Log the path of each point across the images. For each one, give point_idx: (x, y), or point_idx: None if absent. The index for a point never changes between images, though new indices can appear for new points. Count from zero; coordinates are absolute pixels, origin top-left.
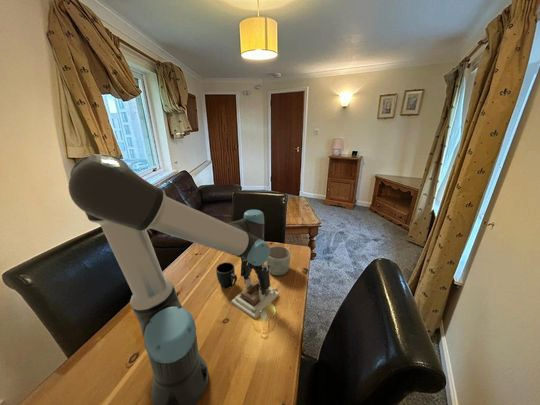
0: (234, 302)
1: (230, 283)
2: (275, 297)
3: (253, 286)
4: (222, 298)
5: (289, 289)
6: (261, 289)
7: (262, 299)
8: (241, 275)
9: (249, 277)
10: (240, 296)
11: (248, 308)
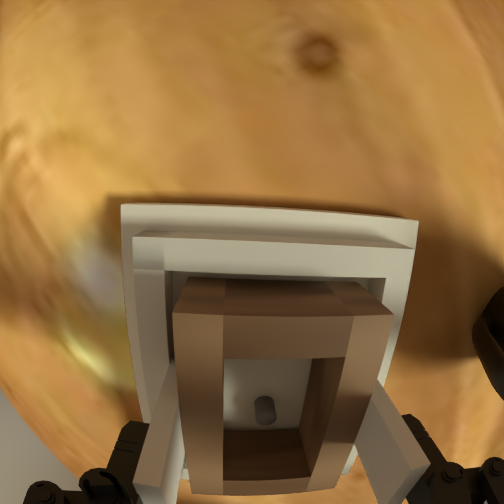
0: (387, 219)
1: (498, 335)
2: None
3: (320, 444)
4: (474, 213)
5: None
6: (84, 478)
7: None
8: (495, 465)
9: (397, 502)
10: (379, 295)
11: (220, 235)
